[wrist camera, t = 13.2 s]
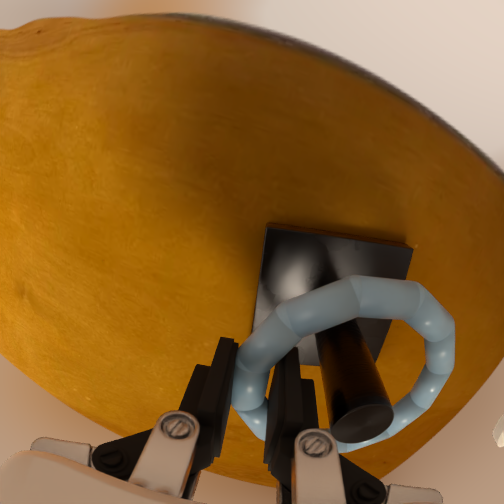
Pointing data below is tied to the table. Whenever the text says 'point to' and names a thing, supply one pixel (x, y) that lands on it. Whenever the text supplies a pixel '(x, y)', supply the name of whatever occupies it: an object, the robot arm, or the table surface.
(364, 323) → the post
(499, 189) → the table surface
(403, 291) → the ring
